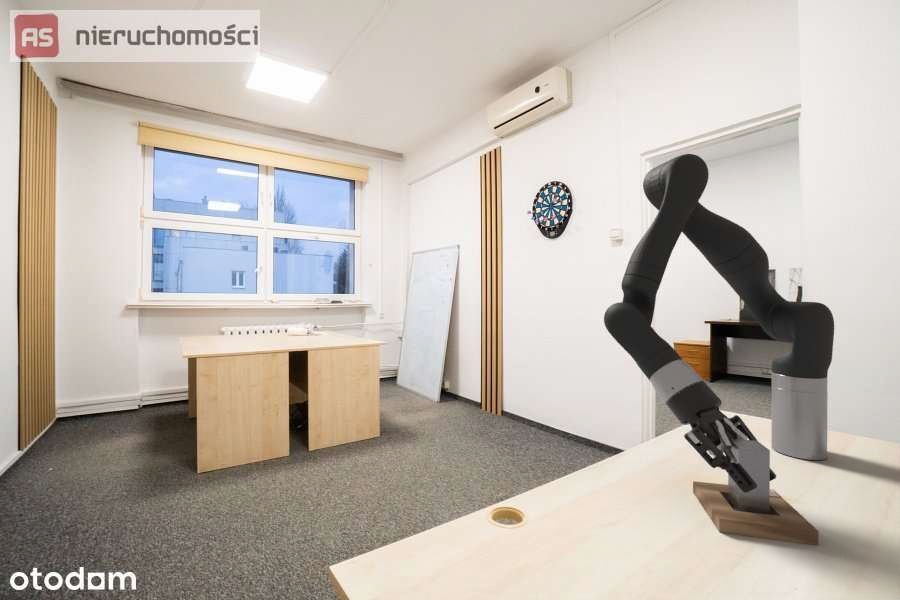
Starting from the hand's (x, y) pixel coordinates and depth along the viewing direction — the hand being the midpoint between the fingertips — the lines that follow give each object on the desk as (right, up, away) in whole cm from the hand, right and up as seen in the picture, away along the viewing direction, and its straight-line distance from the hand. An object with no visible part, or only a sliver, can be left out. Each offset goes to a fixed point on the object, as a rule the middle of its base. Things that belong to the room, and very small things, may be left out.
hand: (761, 484), depth 61 cm
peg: (-1, -4, +2) cm, 5 cm away
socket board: (-1, -6, +2) cm, 6 cm away
